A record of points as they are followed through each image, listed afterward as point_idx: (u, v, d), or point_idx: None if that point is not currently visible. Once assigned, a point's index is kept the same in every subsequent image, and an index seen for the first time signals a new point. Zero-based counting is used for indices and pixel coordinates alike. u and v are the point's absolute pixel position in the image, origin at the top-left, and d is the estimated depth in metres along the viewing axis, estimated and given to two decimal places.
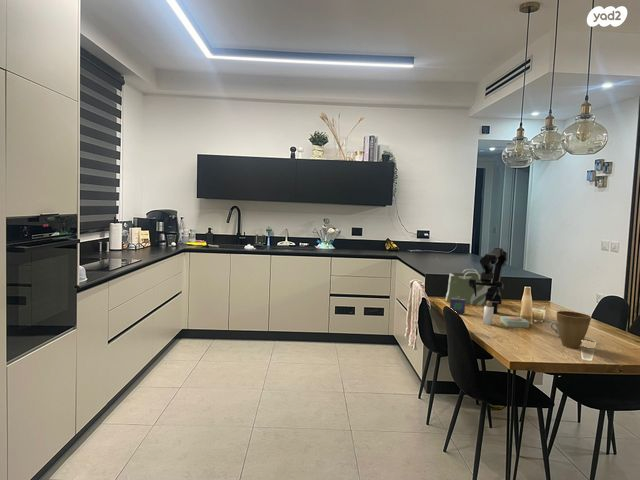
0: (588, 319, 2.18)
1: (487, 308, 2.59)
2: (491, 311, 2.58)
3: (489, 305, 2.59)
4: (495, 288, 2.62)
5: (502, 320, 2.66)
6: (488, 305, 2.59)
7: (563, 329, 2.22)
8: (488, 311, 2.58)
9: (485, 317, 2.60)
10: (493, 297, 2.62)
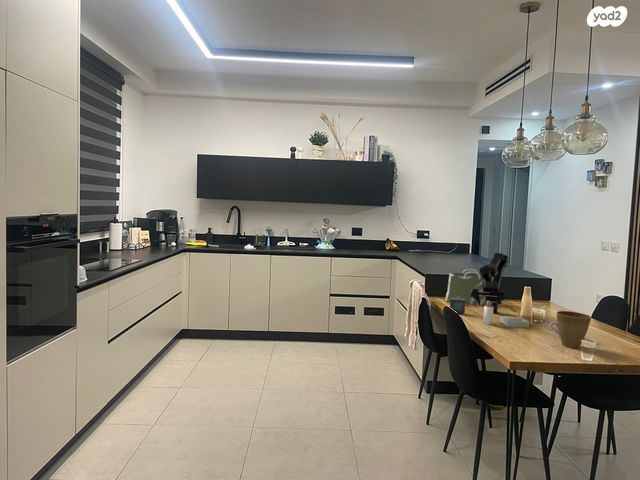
0: (588, 319, 2.18)
1: (487, 308, 2.59)
2: (491, 311, 2.58)
3: (489, 305, 2.59)
4: (498, 297, 2.64)
5: (502, 320, 2.66)
6: (488, 305, 2.59)
7: (563, 329, 2.22)
8: (488, 311, 2.58)
9: (485, 317, 2.60)
10: (497, 306, 2.62)
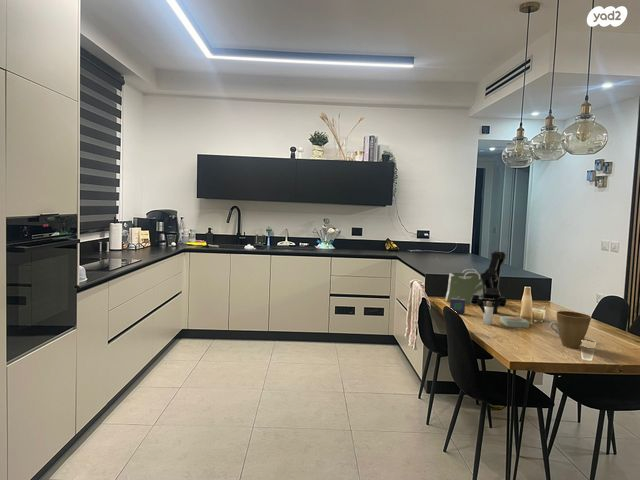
0: (588, 319, 2.18)
1: (487, 308, 2.59)
2: (491, 311, 2.58)
3: (489, 305, 2.59)
4: (496, 303, 2.61)
5: (502, 320, 2.66)
6: (488, 305, 2.59)
7: (563, 329, 2.22)
8: (488, 311, 2.58)
9: (485, 317, 2.60)
10: (494, 312, 2.59)
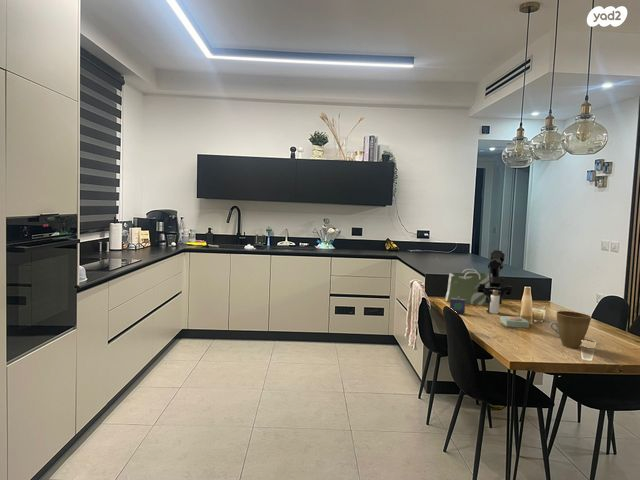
0: (588, 319, 2.18)
1: (493, 297, 2.59)
2: (497, 300, 2.58)
3: (495, 294, 2.59)
4: (502, 292, 2.61)
5: (502, 320, 2.66)
6: (494, 294, 2.59)
7: (563, 329, 2.22)
8: (494, 300, 2.58)
9: (491, 306, 2.60)
10: (500, 301, 2.59)
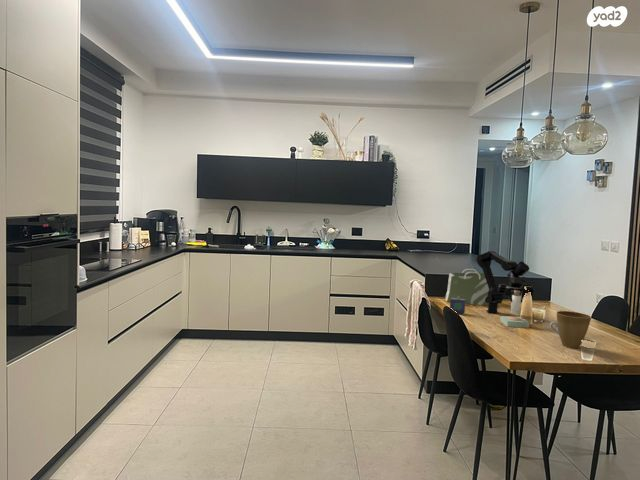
0: (588, 319, 2.18)
1: (515, 297, 2.60)
2: (519, 300, 2.60)
3: (517, 294, 2.60)
4: (523, 292, 2.62)
5: (502, 320, 2.66)
6: (516, 294, 2.61)
7: (563, 329, 2.22)
8: (516, 300, 2.60)
9: (513, 306, 2.61)
10: None
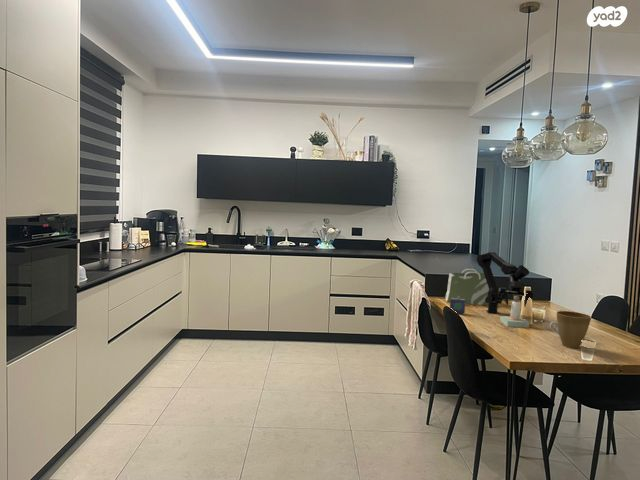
0: (588, 319, 2.18)
1: (514, 303, 2.60)
2: (518, 306, 2.60)
3: (516, 300, 2.61)
4: (527, 296, 2.62)
5: (502, 320, 2.66)
6: (515, 300, 2.61)
7: (563, 329, 2.22)
8: (515, 306, 2.60)
9: (512, 312, 2.61)
10: (525, 305, 2.61)
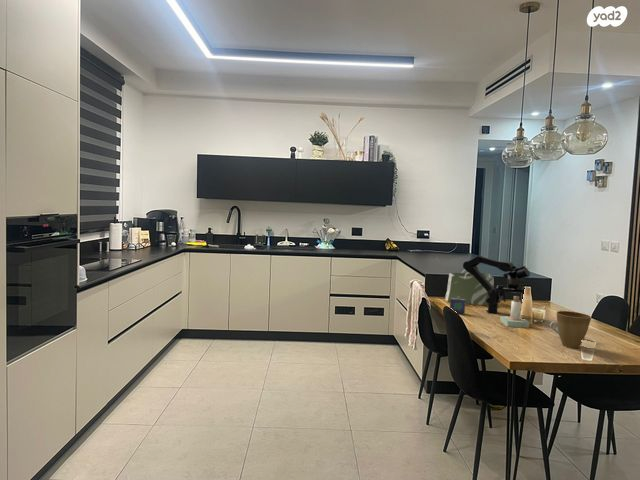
0: (588, 319, 2.18)
1: (514, 303, 2.60)
2: (518, 306, 2.60)
3: (516, 300, 2.61)
4: (523, 293, 2.70)
5: (502, 320, 2.66)
6: (515, 300, 2.61)
7: (563, 329, 2.22)
8: (515, 306, 2.60)
9: (512, 312, 2.61)
10: None
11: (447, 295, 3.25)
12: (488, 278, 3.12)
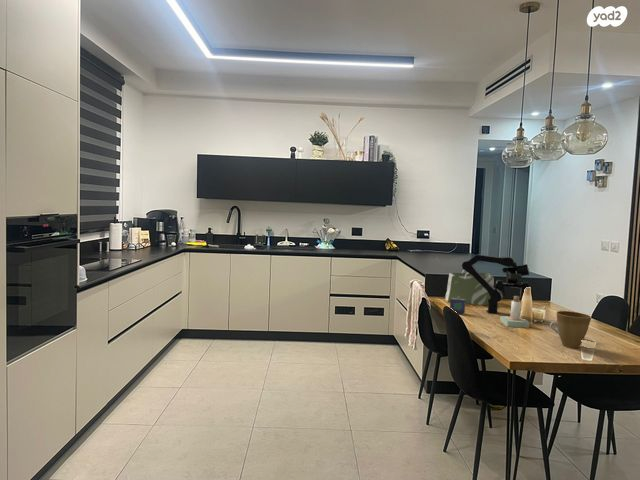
0: (588, 319, 2.18)
1: (514, 303, 2.60)
2: (518, 306, 2.60)
3: (516, 300, 2.61)
4: (523, 288, 2.73)
5: (502, 320, 2.66)
6: (515, 300, 2.61)
7: (563, 329, 2.22)
8: (515, 306, 2.60)
9: (512, 312, 2.61)
10: (521, 297, 2.72)
11: (447, 295, 3.25)
12: (488, 278, 3.12)
